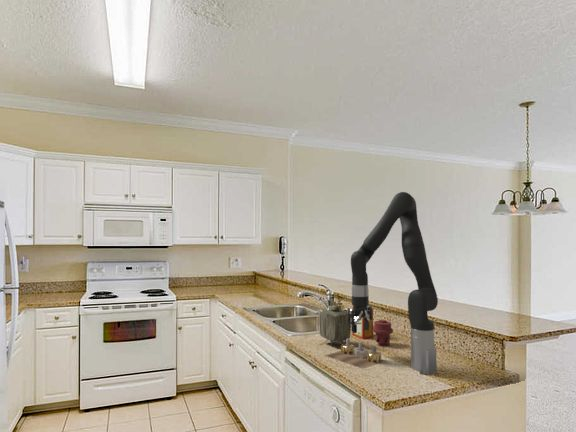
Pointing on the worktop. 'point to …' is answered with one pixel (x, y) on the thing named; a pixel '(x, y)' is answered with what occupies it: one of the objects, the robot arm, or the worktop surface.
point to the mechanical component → (382, 332)
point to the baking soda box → (361, 331)
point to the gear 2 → (374, 357)
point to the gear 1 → (347, 348)
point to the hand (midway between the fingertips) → (360, 331)
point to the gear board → (353, 357)
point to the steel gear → (360, 353)
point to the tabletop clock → (334, 324)
